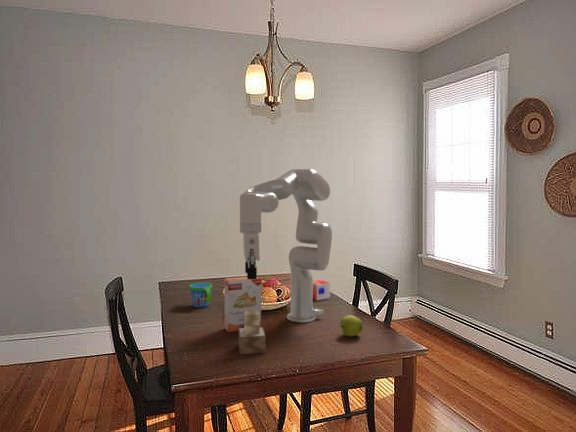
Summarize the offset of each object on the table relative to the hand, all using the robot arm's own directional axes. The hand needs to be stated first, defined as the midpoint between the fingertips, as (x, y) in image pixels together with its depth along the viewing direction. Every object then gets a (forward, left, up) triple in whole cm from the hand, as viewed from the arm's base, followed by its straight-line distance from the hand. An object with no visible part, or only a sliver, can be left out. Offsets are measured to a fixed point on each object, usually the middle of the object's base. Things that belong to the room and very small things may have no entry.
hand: (250, 275), depth 163 cm
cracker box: (+2, -21, -27) cm, 34 cm away
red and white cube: (-39, -64, -27) cm, 80 cm away
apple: (-39, -7, -27) cm, 48 cm away
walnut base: (0, +1, -26) cm, 26 cm away
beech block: (0, +1, -20) cm, 20 cm away
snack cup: (+20, -56, -27) cm, 65 cm away
